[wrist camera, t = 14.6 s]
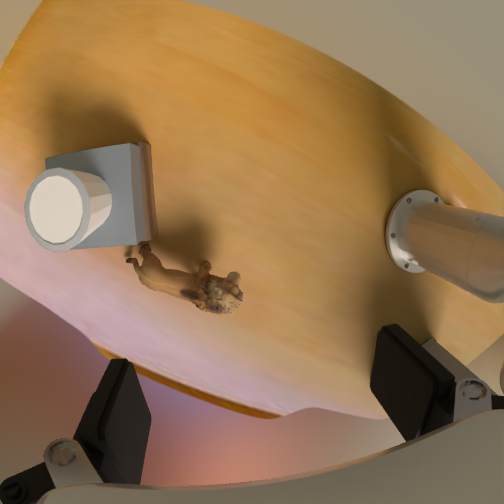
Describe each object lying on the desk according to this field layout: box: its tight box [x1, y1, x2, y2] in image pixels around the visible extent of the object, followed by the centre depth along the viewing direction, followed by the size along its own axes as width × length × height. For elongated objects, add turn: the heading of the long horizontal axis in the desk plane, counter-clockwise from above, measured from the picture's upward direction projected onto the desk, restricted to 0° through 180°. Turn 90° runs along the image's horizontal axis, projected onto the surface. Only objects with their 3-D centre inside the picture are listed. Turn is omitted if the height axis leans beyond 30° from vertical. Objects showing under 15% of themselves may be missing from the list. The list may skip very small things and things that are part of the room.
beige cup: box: [24, 168, 112, 252], centre depth 23 cm, size 7×7×7 cm
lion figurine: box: [126, 245, 243, 314], centre depth 34 cm, size 15×5×9 cm, turn 80°
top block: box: [46, 143, 146, 250], centre depth 29 cm, size 10×10×4 cm
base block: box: [131, 142, 158, 241], centre depth 33 cm, size 11×11×4 cm
